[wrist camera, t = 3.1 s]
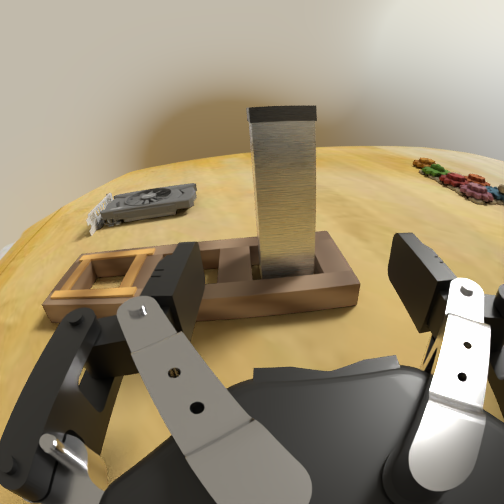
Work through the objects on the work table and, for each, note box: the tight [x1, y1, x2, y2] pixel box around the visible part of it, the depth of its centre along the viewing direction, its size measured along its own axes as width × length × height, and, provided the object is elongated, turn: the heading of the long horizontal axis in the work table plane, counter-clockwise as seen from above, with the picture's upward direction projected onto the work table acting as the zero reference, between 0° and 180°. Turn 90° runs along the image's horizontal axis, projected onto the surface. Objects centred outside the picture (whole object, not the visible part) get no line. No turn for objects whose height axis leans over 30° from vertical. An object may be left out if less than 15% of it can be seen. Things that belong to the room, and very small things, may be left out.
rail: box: [42, 231, 360, 323], centre depth 24 cm, size 26×9×2 cm, turn 93°
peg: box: [247, 106, 317, 279], centre depth 21 cm, size 4×4×14 cm
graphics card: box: [87, 183, 197, 236], centre depth 42 cm, size 17×4×12 cm
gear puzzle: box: [413, 158, 504, 205], centre depth 51 cm, size 31×16×4 cm, turn 3°
